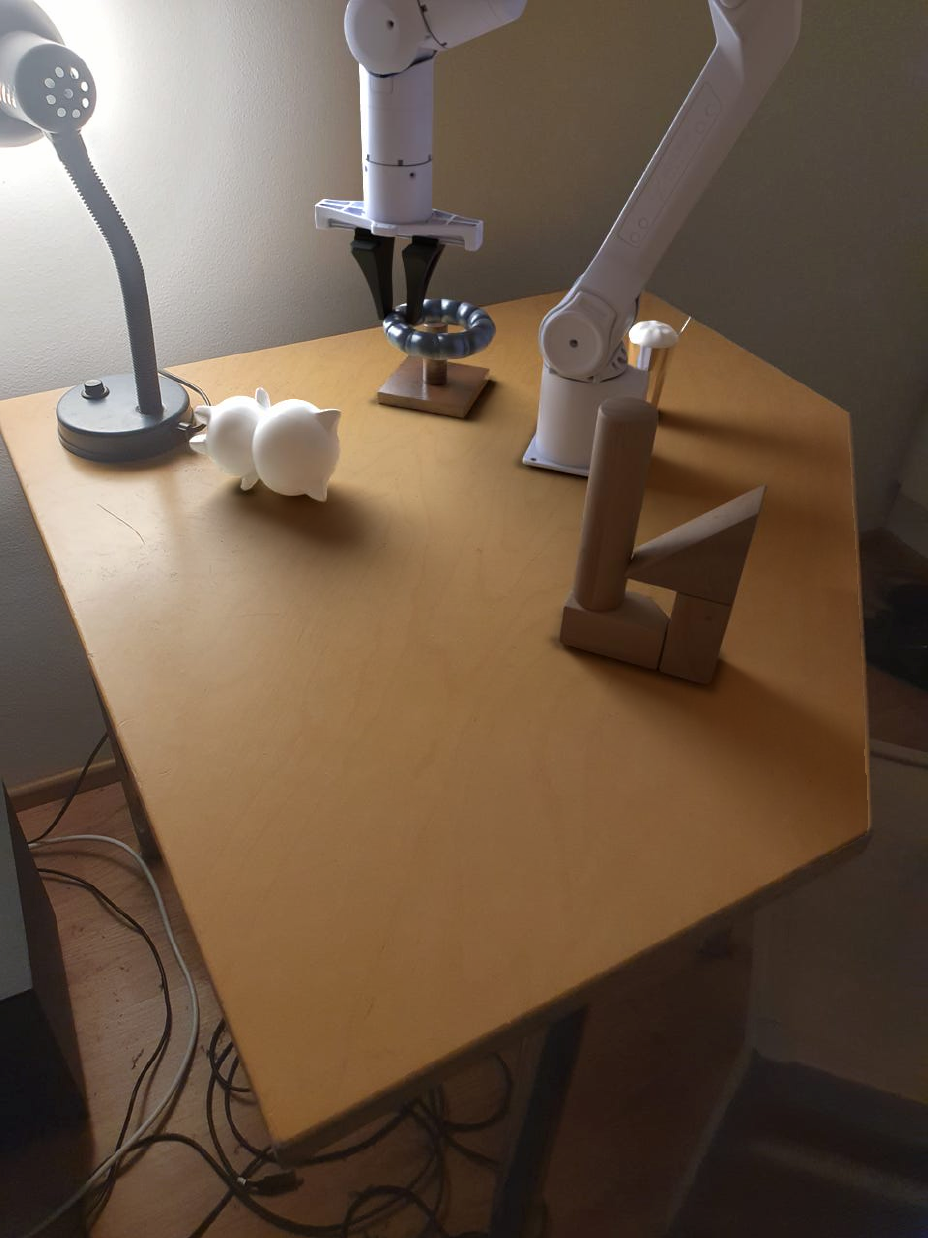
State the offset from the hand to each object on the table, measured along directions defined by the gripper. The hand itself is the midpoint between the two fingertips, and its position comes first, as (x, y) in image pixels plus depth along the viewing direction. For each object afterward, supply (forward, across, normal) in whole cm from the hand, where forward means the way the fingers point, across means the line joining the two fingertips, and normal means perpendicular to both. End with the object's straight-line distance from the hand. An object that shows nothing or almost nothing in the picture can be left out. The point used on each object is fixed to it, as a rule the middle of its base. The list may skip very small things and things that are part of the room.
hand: (399, 318), depth 83 cm
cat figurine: (+10, -6, -15) cm, 19 cm away
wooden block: (+10, +27, -27) cm, 40 cm away
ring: (0, +4, 0) cm, 4 cm away
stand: (+9, +2, +5) cm, 11 cm away
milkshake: (+10, +23, +8) cm, 26 cm away
